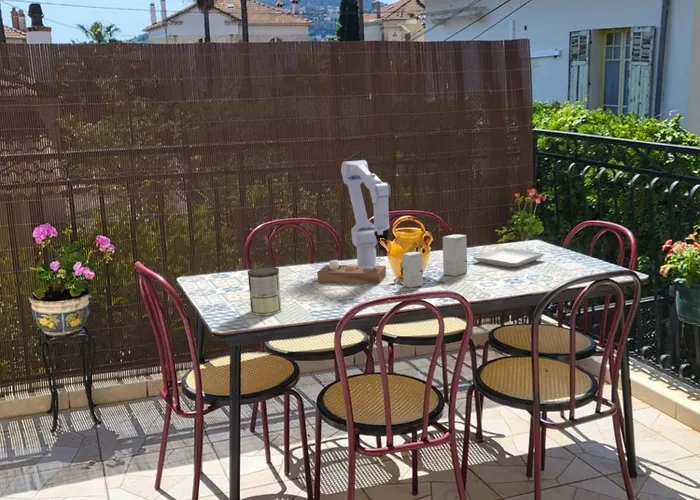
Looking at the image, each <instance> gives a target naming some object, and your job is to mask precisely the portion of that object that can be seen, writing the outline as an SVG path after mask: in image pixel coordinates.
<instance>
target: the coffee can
mask: <svg viewBox="0 0 700 500" xmlns="http://www.w3.org/2000/svg"><path fill="white" fill-rule="evenodd" d="M247 275H248V277H247V278H248V289H249V300H250V301H249V302H250V303H249V304H250V313H251V314H252V315H254V314H256V315H255V316H259V315H266V316H272V315H277V314H279V313H281V312H282V301H281V300H282V298H281V288H280V287H281V285H280V284H281V283H280V269H279V268H278V267H275V266H259V267H253V268H250V269H248V270H247Z"/></svg>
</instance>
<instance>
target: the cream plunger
mask: <svg viewBox="0 0 700 500" xmlns="http://www.w3.org/2000/svg"><path fill="white" fill-rule="evenodd" d="M328 263H329V264H328V265H329V267H330V270H339V265H340V264H339V263H340V262H339V260H338V259H332V260H329V261H328Z"/></svg>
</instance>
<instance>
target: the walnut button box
mask: <svg viewBox="0 0 700 500" xmlns="http://www.w3.org/2000/svg"><path fill="white" fill-rule="evenodd" d="M347 265H348V264H339V270H330V267H329V264H325V265H324V266H323V267H322V268H321V269H319V270H318V271H317V272H316V274H317V278H316V279H317V283H325V284H326V283H329V284H332V283H333V284H367V285H368V284H371V285H372V284H374V285H380V284H381V283H382V282H383V280H384V279H385V278H386V277H387V266H386V265H377V266H365V265H358V264H357V265H356V264H355V265H356V270H347ZM365 267H374V271H365Z"/></svg>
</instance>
